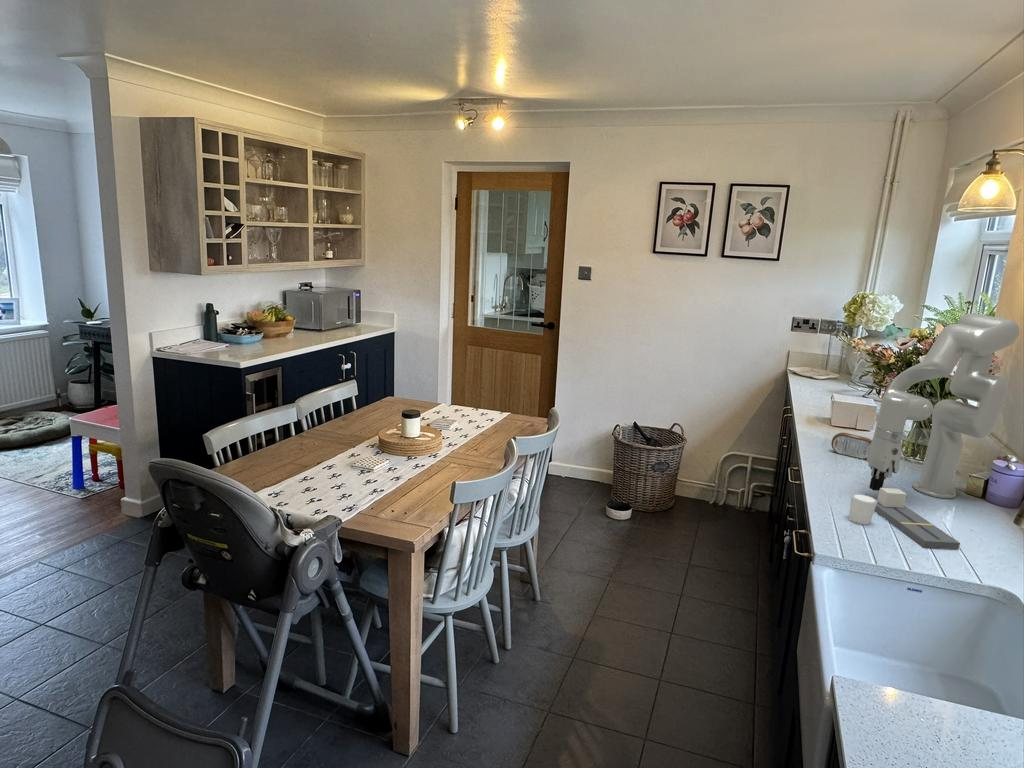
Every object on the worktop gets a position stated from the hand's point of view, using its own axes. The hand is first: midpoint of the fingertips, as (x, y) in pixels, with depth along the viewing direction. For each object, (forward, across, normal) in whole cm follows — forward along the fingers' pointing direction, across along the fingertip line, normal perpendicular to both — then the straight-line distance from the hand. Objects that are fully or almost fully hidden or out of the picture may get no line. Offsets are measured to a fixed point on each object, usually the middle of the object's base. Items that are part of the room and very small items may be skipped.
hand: (875, 489), depth 216 cm
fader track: (+4, -18, 0) cm, 19 cm away
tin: (+4, +43, -17) cm, 46 cm away
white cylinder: (+4, -16, +14) cm, 22 cm away
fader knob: (+1, -8, 0) cm, 8 cm away
